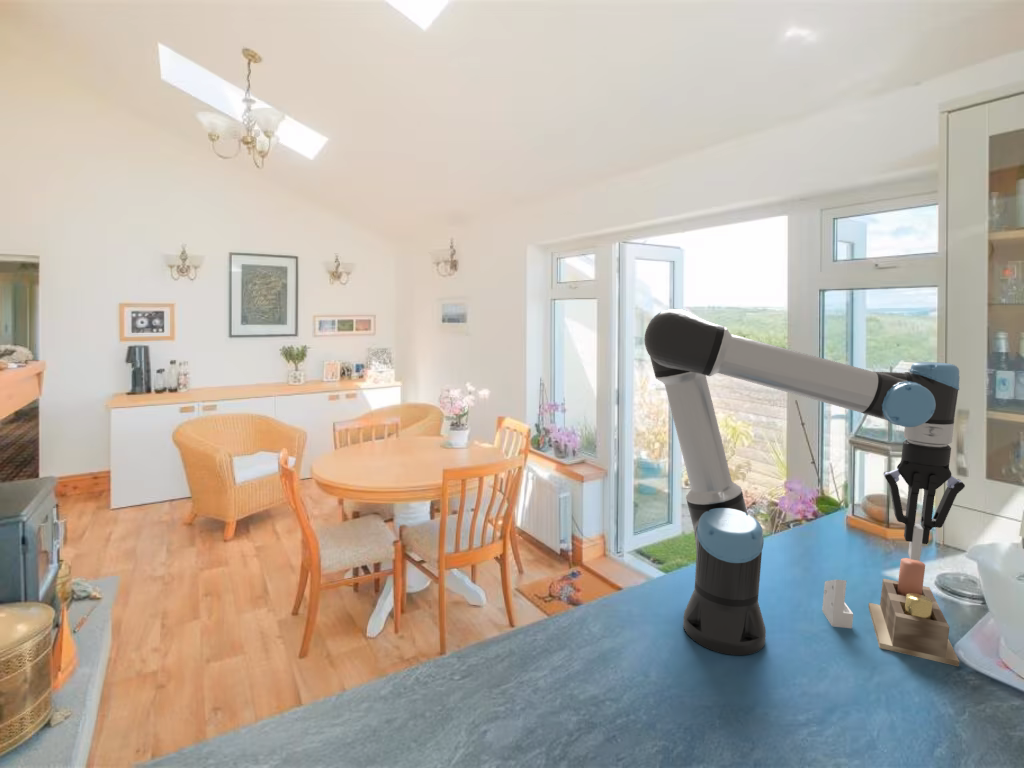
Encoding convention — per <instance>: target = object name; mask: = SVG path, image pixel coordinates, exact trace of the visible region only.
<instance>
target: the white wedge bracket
mask: <svg viewBox="0 0 1024 768" xmlns="http://www.w3.org/2000/svg"><path fill="white" fill-rule="evenodd" d="M846 589H847V580H843V579H831V580H826V581H824V586H823V599H822V609H821V612H822V613H823V615H824V616H825V618H826V619H827V620H828V622H829V624H830V625H831V627H836V628H845V629H853V622H854V613H853V611H852V610H851V608H850V607H849V606H848V604H847V603H846V602H845V601H846V599H845V598H846Z"/></svg>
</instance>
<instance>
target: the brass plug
mask: <svg viewBox="0 0 1024 768" xmlns="http://www.w3.org/2000/svg"><path fill="white" fill-rule="evenodd" d="M932 603H933V602H932V600H931V599H929V598H928V597H926V596H923V595H920V594H915V593H909V594H907V595H906V602H905V611H904V614H906V615H911V616H915V617H920V618H925V619H931V611H932Z"/></svg>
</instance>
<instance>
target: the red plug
mask: <svg viewBox="0 0 1024 768" xmlns="http://www.w3.org/2000/svg"><path fill="white" fill-rule="evenodd" d="M925 571H926V564H925V563H924V562H923V561H921V560H920V561H918V560H912V559H910V557H903V558H901V559H900V564H899V571H898V580H897V581H898V589H897V595H902V596H906V595H907V594H909V593H915V594H920V595H922V589H923V586H924V580H925Z"/></svg>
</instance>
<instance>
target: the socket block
mask: <svg viewBox="0 0 1024 768" xmlns="http://www.w3.org/2000/svg"><path fill="white" fill-rule="evenodd" d="M881 585H882V586H881V595H880V603H879V604H877V603H872V602H868V610H869V614H870V618H871V622H872V625H873V630H874V633H875V636H876V641H877V644H878V647H879V649H883V650H887V651H891V652H894V653H895V652H896V653H900V654H904V655H908V656H911V657H917V658H921V659H925V660H929V661H935V662H938V663H943V664H947V665H951V666H955V667H959V666H960V659H959V658H958V656H957V653H956V651H955V649H954V646H953V645H952V643H951V641H950V639H949V635H950V626H949V624H948V621H947V620H946V617H945V615H944V614H943V612H942V608H940V606H939V604H938V602H937V600H936V598H935V596H934V594H933V592H932V589H931V588H930V587H929V586H924V585H923V589H922V595H923V596H926V597H928V598H929V599H931V600H932V602H933V603H932V611H931V619H925V618H920V617H915V616H911V615H906V614H904V611H905V602H906V596H902V595H897V589H898V580H893V579H888V578H882V584H881Z"/></svg>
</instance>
